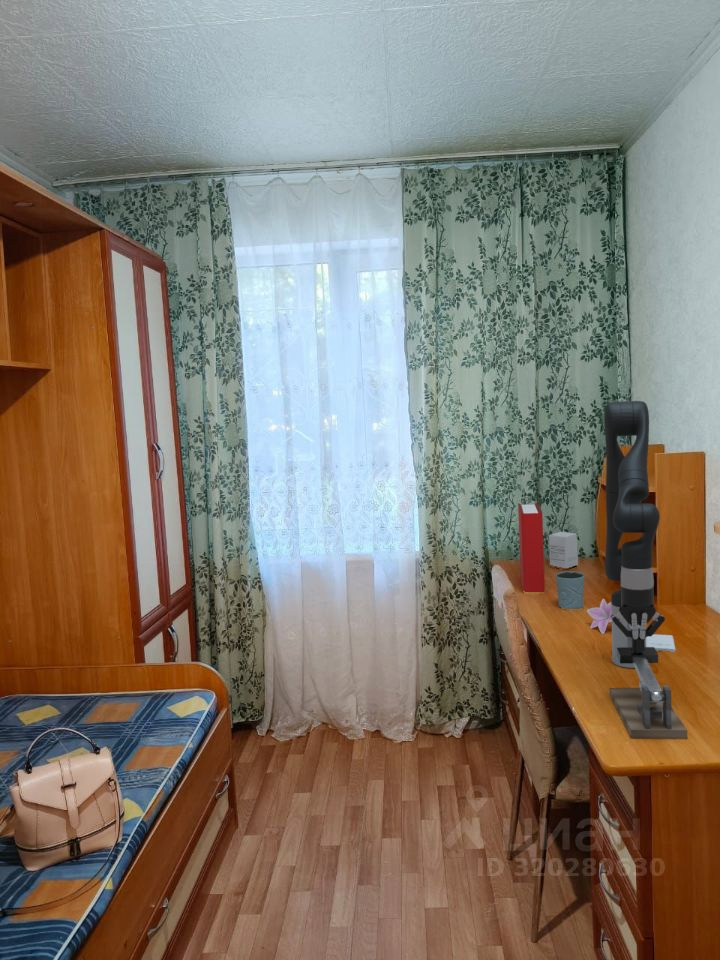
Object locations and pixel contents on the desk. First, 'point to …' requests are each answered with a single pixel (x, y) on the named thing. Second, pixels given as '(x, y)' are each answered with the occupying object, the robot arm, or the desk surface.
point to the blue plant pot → (570, 589)
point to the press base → (647, 714)
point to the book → (531, 547)
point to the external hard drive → (661, 642)
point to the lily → (601, 616)
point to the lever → (643, 669)
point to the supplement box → (563, 549)
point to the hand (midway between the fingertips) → (638, 652)
